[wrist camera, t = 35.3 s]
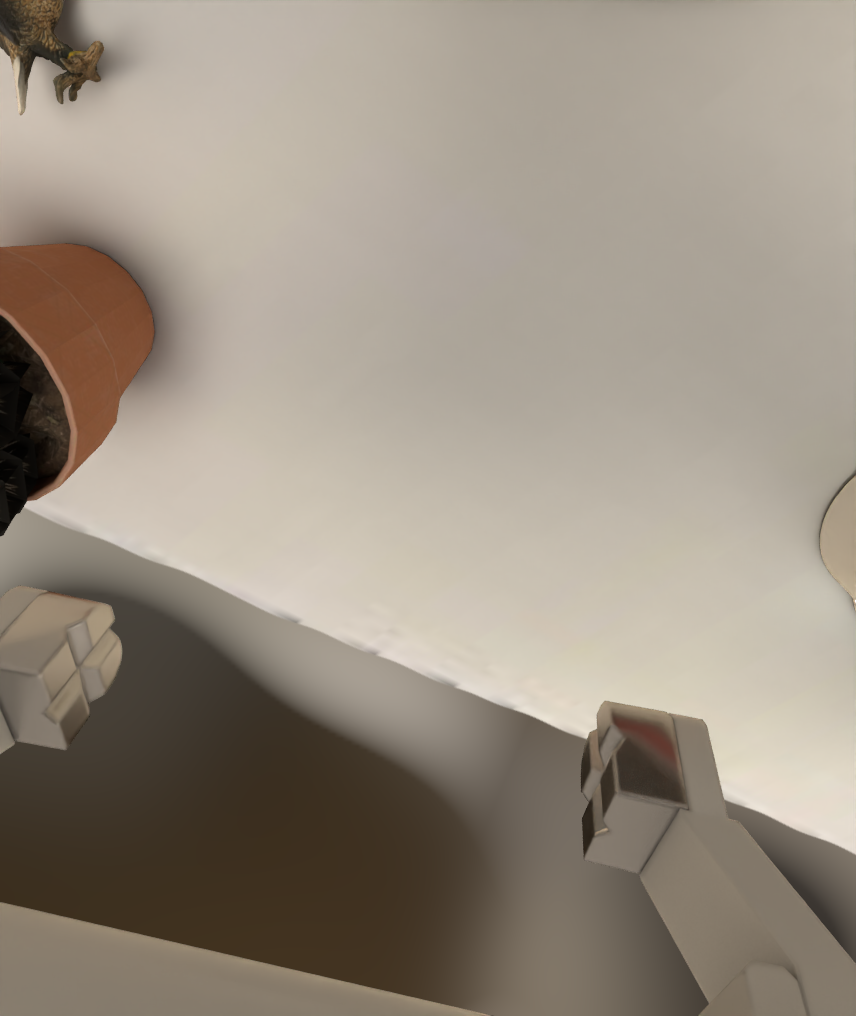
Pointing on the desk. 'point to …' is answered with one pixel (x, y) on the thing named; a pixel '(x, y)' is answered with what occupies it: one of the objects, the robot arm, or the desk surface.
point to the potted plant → (62, 362)
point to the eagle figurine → (43, 47)
